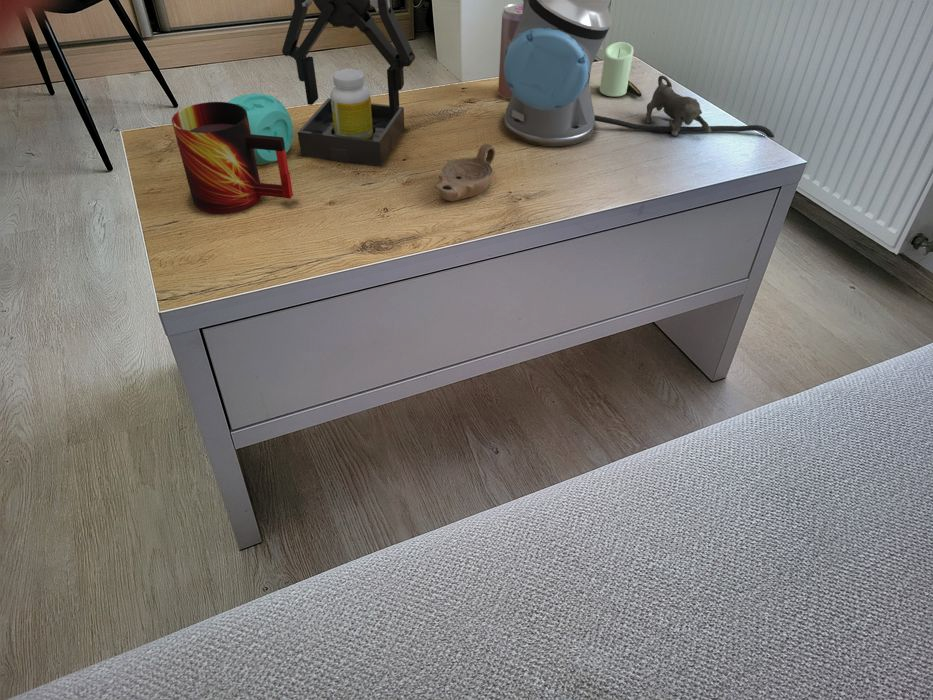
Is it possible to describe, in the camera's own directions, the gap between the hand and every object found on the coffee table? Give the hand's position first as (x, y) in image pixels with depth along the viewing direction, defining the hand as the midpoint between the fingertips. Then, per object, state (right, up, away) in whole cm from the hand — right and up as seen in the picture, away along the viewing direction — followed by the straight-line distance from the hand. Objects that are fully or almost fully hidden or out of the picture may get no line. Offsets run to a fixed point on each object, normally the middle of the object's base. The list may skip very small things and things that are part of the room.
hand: (353, 105), depth 112 cm
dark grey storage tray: (0, -5, +4) cm, 6 cm away
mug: (-15, -16, -9) cm, 23 cm away
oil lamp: (+18, -15, -6) cm, 24 cm away
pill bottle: (0, -5, +4) cm, 6 cm away
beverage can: (+27, +9, +20) cm, 34 cm away
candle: (+45, +10, +22) cm, 51 cm away
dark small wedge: (+48, +12, +25) cm, 55 cm away
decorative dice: (-15, -7, 0) cm, 16 cm away
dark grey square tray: (0, -5, +4) cm, 6 cm away
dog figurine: (+53, 0, +11) cm, 54 cm away
